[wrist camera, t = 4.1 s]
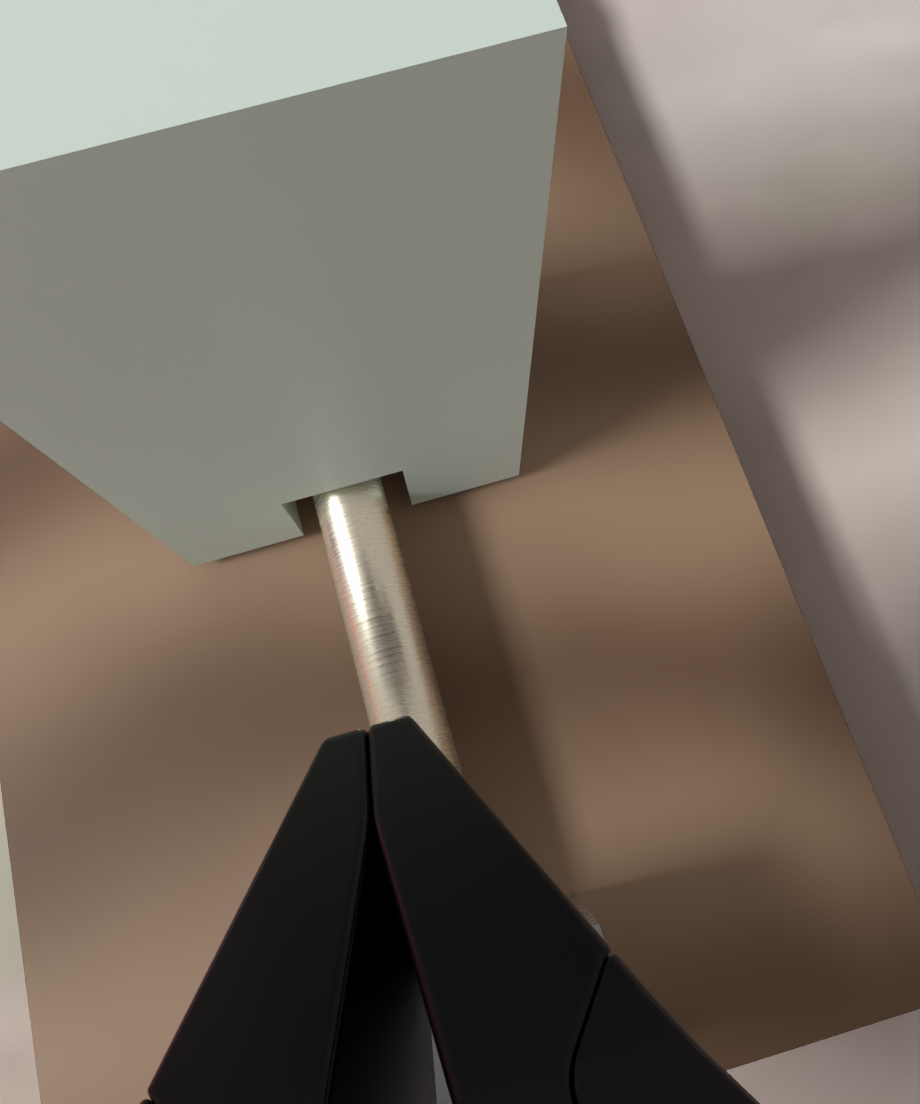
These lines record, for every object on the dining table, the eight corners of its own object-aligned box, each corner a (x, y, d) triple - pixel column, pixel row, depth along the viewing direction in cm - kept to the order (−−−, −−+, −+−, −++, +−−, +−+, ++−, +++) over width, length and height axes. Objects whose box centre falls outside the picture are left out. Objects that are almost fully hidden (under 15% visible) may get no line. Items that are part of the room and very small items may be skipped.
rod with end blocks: (658, 1034, 13) (781, 1210, 8) (360, 1127, 13) (270, 1378, 8) (314, -62, 20) (248, -390, 14) (111, -12, 20) (-36, -326, 14)
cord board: (909, 975, 14) (960, 997, 13) (108, 1228, 14) (60, 1285, 12) (493, -78, 21) (494, -146, 19) (-57, 58, 20) (-101, -1, 19)
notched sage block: (518, 474, 15) (567, 26, 6) (194, 565, 15) (-250, 234, 6) (458, 289, 16) (424, -324, 7) (154, 370, 16) (-271, -161, 7)
